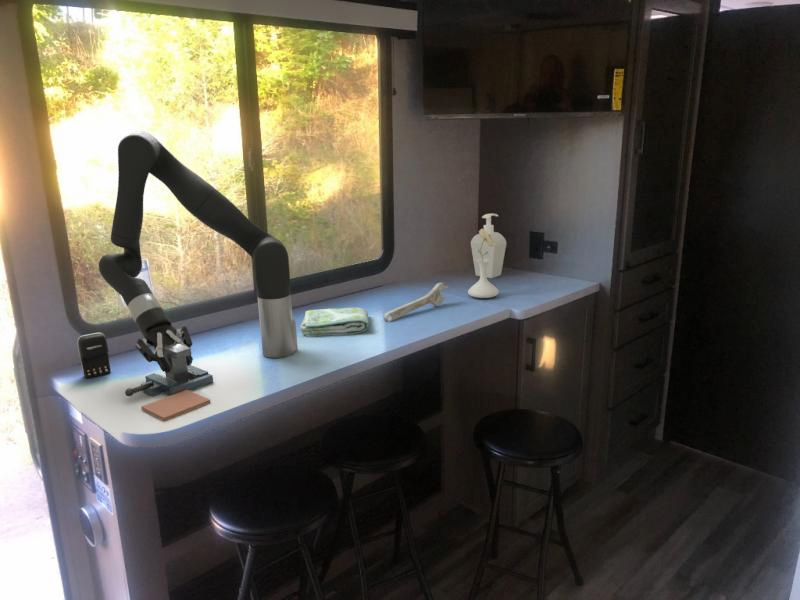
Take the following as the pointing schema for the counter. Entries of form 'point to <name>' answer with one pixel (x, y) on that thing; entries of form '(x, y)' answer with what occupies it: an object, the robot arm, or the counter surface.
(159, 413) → the mat
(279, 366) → the counter surface
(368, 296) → the counter surface
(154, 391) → the vise
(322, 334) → the towel
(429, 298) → the wrench
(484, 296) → the flower in vase
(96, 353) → the battery charger
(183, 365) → the gray rectangular prism
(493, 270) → the soap bottle
